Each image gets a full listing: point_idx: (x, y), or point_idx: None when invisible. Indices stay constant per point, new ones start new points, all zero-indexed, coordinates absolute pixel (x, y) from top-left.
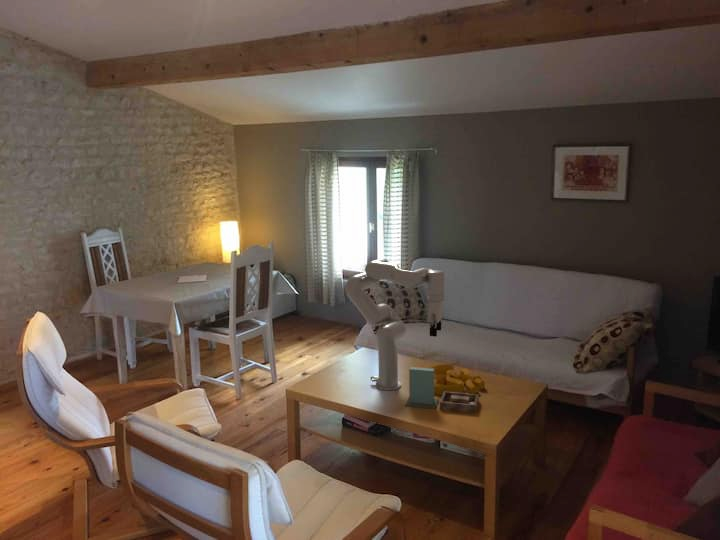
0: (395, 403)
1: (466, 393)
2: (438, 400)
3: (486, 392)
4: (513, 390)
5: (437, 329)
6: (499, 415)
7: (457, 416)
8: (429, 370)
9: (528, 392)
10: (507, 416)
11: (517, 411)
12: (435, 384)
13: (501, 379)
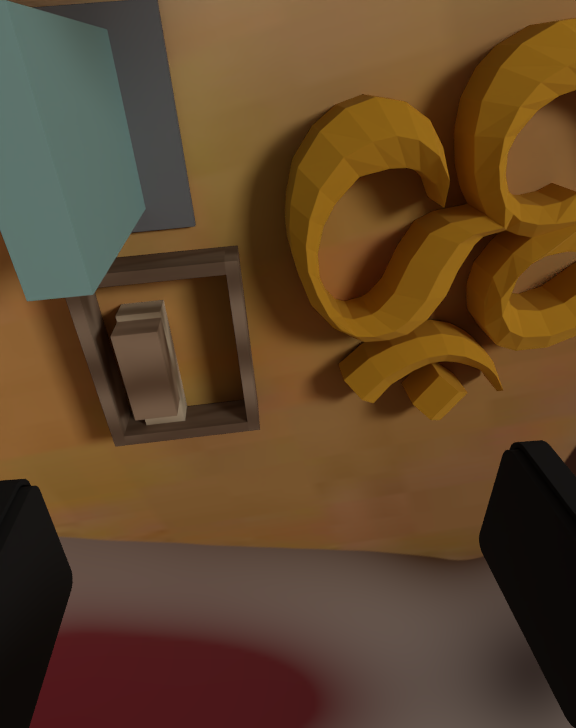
0: None
1: (250, 379)
2: (186, 225)
3: (377, 414)
4: (422, 495)
5: (499, 507)
6: (146, 497)
7: (39, 362)
8: (22, 264)
9: (410, 536)
10: (151, 520)
11: (214, 536)
12: (309, 186)
13: (546, 438)
